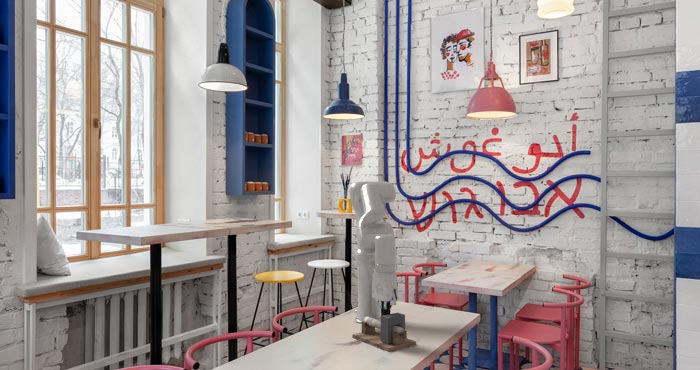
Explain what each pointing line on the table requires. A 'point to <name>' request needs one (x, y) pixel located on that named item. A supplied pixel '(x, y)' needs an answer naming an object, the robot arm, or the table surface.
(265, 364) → the table surface
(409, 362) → the table surface
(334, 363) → the table surface
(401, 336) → the pipe rig
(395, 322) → the collar
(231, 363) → the table surface
